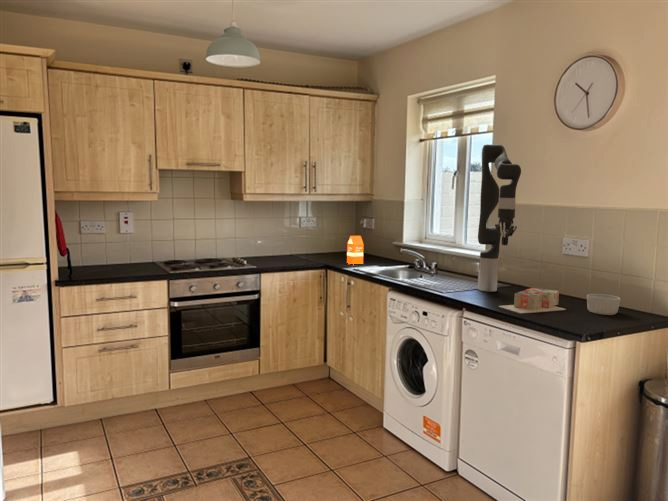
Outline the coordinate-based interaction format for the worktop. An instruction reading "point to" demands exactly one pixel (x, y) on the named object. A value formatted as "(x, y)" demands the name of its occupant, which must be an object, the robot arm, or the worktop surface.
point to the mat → (523, 310)
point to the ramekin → (603, 304)
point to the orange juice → (355, 250)
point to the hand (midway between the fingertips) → (504, 245)
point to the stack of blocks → (536, 298)
